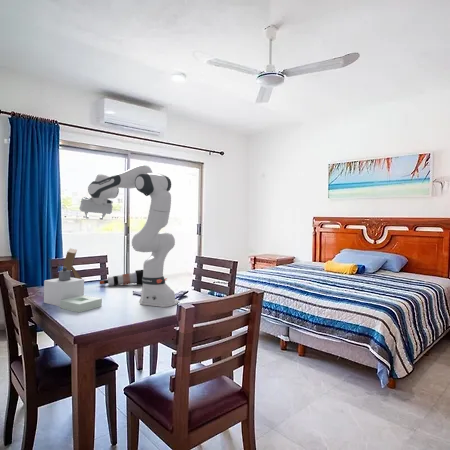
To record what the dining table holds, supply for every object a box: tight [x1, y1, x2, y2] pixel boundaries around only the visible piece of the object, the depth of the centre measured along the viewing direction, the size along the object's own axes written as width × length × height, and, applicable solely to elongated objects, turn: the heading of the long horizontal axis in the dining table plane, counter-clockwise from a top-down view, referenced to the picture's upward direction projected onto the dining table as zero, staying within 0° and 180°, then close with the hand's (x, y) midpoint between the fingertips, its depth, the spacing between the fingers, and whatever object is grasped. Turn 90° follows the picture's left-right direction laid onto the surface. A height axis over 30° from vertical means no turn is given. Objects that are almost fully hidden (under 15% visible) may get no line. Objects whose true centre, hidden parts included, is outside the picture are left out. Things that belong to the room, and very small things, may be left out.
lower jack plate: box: [59, 294, 103, 313], centre depth 175 cm, size 14×14×4 cm
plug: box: [58, 266, 71, 281], centre depth 184 cm, size 4×4×10 cm
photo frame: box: [61, 247, 83, 279], centre depth 215 cm, size 15×22×25 cm
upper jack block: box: [43, 276, 85, 307], centre depth 184 cm, size 14×14×12 cm
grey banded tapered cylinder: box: [99, 269, 143, 287], centre depth 232 cm, size 10×34×10 cm, turn 110°
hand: (94, 218), depth 219 cm, fingers open, 8 cm apart
